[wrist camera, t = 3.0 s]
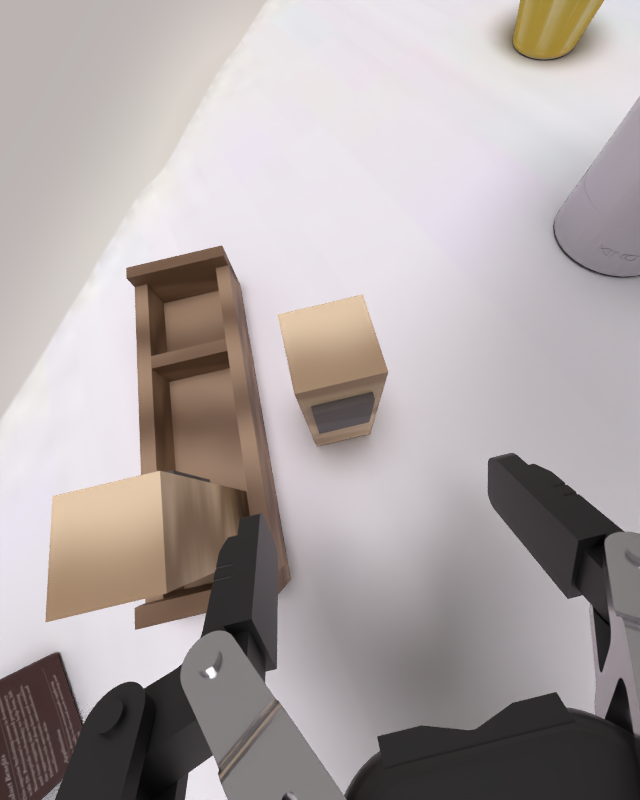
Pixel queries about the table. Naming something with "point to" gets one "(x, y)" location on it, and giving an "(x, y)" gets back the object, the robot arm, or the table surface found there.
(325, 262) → the table surface
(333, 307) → the block
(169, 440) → the rail
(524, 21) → the plant pot
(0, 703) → the box
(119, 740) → the robot arm
